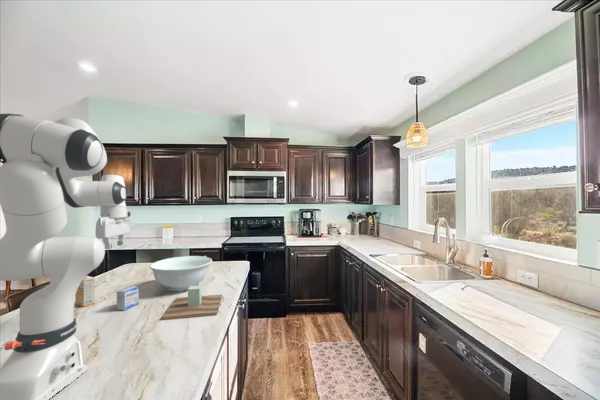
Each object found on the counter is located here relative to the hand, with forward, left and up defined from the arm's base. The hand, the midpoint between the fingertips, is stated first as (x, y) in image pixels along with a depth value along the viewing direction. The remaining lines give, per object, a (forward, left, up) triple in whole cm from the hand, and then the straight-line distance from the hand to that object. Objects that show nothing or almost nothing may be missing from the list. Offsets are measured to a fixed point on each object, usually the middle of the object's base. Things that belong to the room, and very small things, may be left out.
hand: (114, 247), depth 108 cm
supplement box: (+22, +23, -31) cm, 44 cm away
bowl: (+39, -17, -31) cm, 52 cm away
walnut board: (+7, -30, -30) cm, 43 cm away
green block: (+7, -30, -29) cm, 42 cm away
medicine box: (+14, +1, -31) cm, 34 cm away
